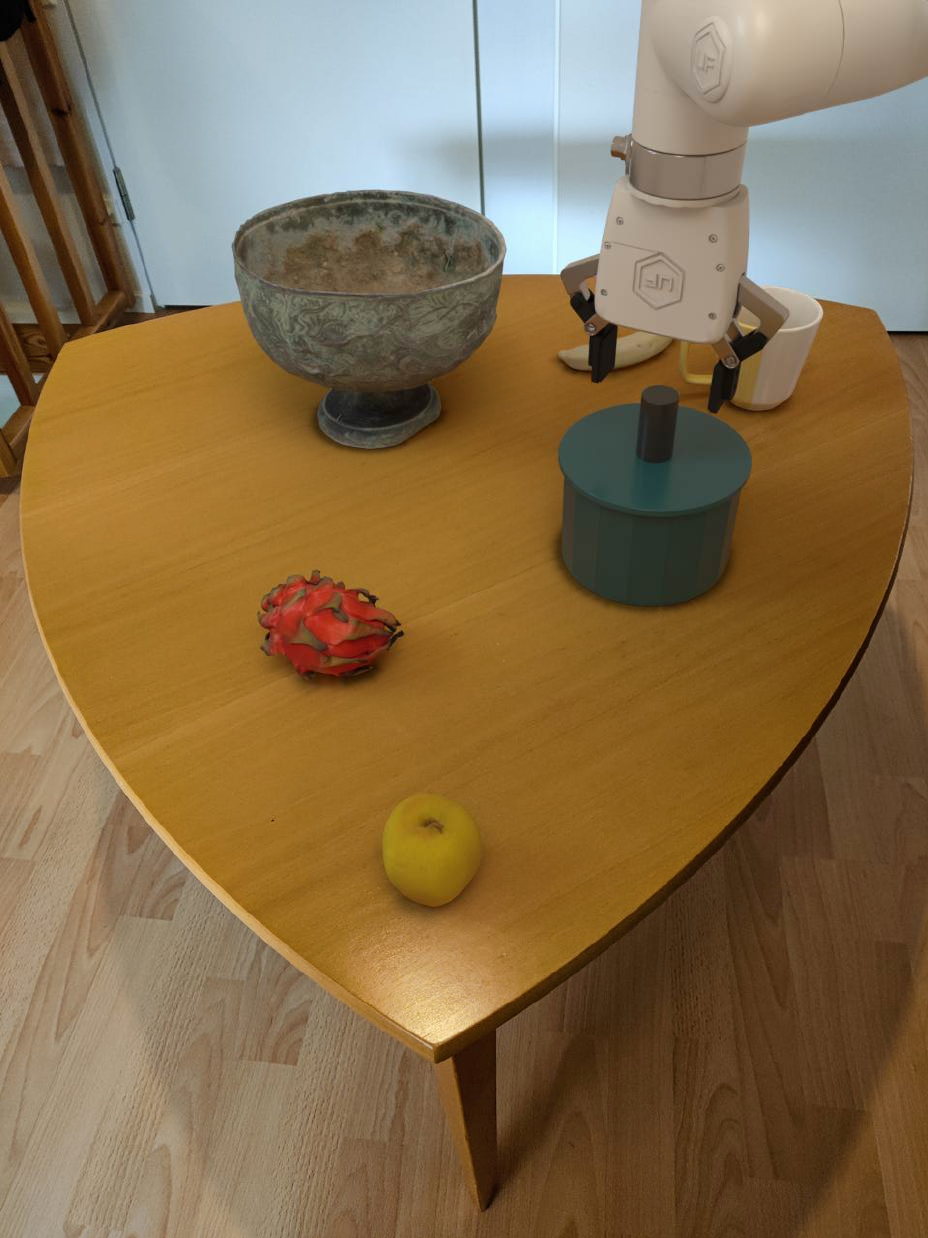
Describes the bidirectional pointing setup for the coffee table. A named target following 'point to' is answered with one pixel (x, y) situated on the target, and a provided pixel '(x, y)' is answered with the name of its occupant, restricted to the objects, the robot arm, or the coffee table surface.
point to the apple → (431, 848)
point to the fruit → (620, 351)
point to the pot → (645, 550)
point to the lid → (655, 457)
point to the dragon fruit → (325, 626)
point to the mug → (770, 353)
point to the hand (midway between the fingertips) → (659, 389)
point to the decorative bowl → (370, 301)
